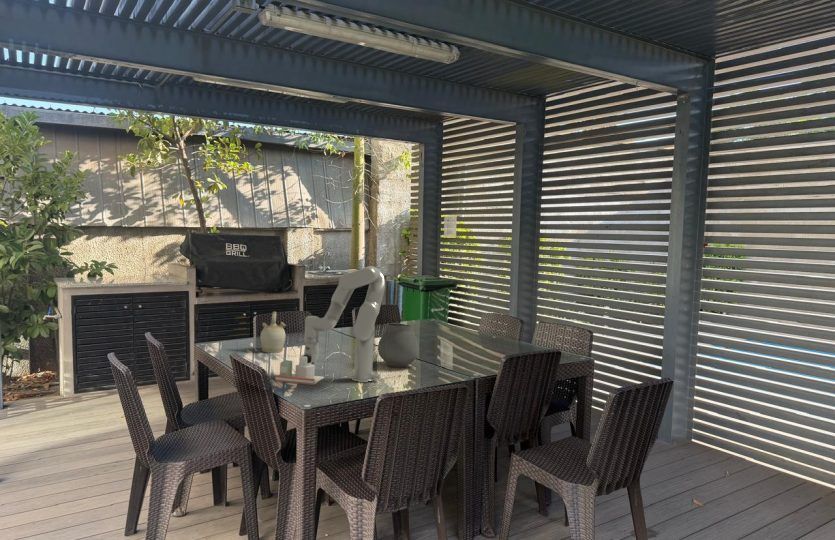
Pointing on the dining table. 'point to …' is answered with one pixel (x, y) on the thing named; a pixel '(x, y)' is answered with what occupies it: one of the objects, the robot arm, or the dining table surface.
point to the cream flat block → (298, 379)
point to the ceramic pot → (398, 345)
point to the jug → (273, 336)
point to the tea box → (286, 368)
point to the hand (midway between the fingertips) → (310, 373)
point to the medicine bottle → (305, 368)
